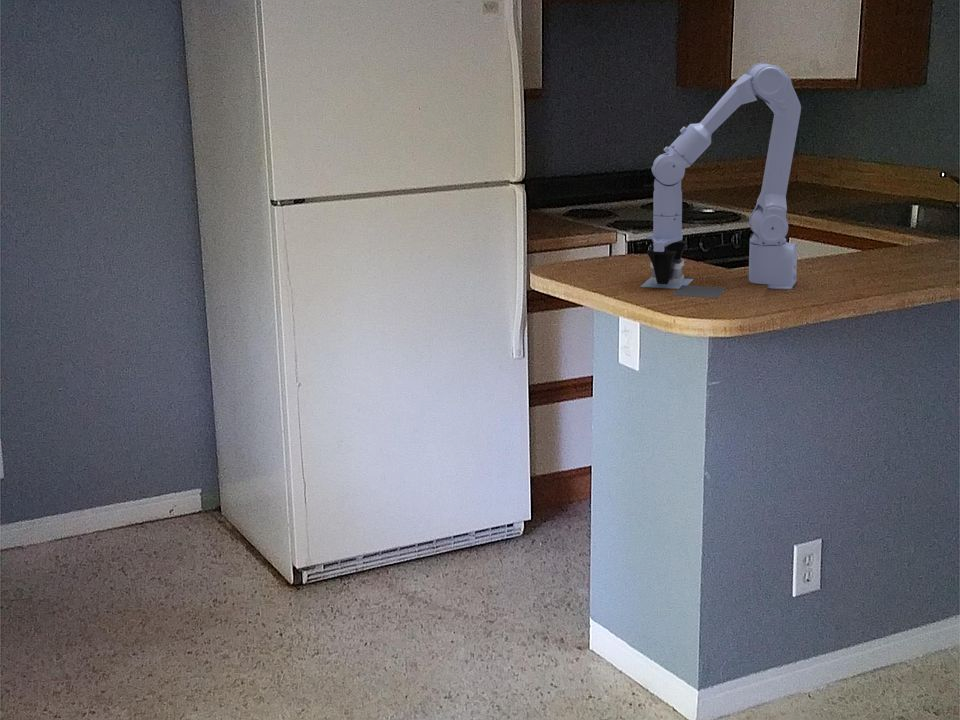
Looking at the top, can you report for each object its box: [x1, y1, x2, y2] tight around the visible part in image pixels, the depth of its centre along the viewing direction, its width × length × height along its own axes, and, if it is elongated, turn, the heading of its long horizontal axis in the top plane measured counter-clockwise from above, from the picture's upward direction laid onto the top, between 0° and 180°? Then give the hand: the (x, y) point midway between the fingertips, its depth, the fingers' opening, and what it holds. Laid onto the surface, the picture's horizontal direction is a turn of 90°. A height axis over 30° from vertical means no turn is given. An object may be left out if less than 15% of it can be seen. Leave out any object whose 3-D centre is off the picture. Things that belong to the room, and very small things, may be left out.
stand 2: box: [671, 285, 727, 299], centre depth 240 cm, size 9×9×1 cm
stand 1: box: [639, 278, 695, 290], centre depth 248 cm, size 9×9×1 cm
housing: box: [649, 259, 685, 286], centre depth 247 cm, size 6×4×4 cm, turn 67°
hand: (667, 279), depth 248 cm, fingers open, 7 cm apart
